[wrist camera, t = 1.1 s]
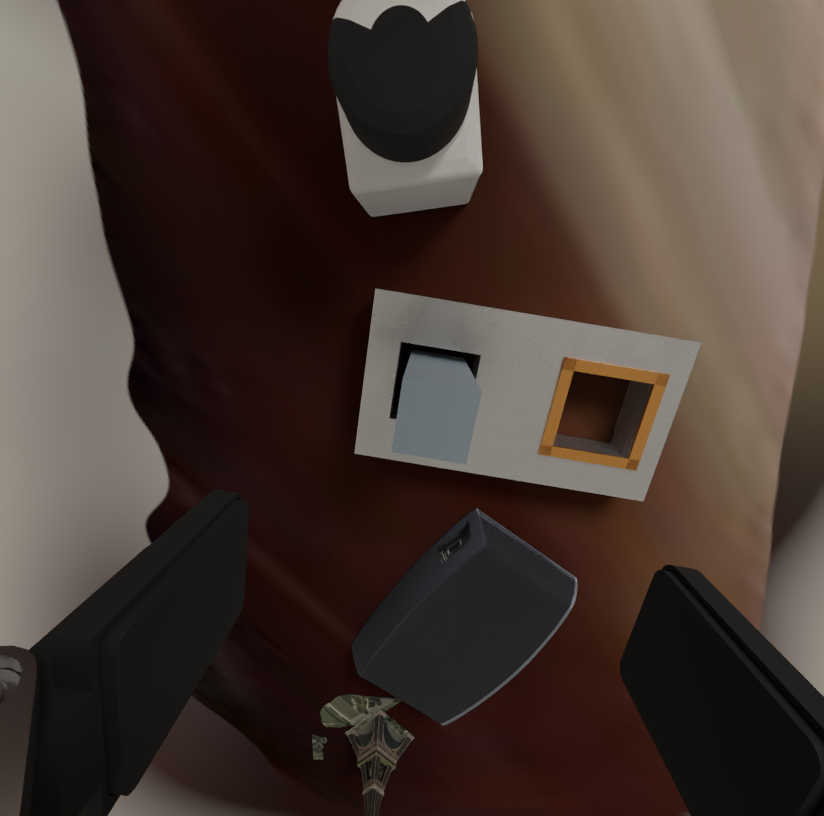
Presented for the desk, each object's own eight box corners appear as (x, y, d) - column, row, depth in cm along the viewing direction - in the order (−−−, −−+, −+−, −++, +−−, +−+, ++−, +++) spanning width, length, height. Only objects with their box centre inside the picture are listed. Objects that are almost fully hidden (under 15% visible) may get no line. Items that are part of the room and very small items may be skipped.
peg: (412, 349, 30) (402, 378, 20) (463, 357, 30) (481, 391, 20) (404, 398, 31) (391, 452, 21) (454, 407, 31) (466, 464, 21)
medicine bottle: (470, 204, 27) (500, 138, 16) (369, 218, 28) (326, 164, 16) (462, 82, 25) (488, -95, 14) (353, 100, 26) (291, -56, 14)
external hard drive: (581, 578, 36) (600, 613, 32) (449, 701, 41) (452, 745, 37) (469, 499, 34) (474, 525, 30) (345, 637, 39) (335, 676, 35)
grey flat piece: (380, 289, 29) (374, 288, 26) (674, 338, 29) (703, 343, 26) (361, 439, 32) (353, 454, 29) (624, 483, 32) (644, 502, 29)
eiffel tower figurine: (455, 695, 40) (467, 881, 28) (449, 765, 43) (458, 963, 30) (311, 685, 41) (256, 864, 28) (314, 755, 44) (267, 946, 31)
